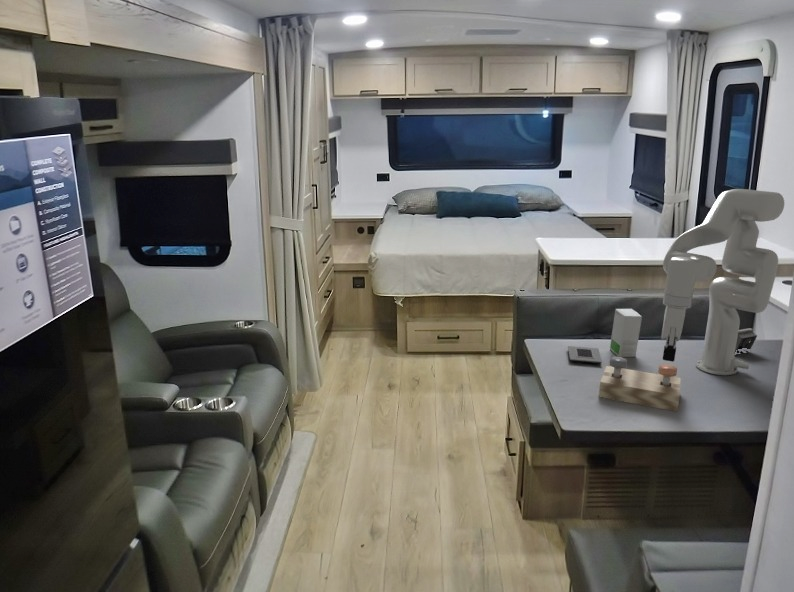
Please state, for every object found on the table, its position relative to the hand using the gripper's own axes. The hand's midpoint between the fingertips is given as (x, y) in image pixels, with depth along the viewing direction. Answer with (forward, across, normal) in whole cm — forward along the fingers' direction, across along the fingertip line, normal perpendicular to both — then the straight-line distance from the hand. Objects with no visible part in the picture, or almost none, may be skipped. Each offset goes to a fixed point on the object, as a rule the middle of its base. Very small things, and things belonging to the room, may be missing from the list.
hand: (668, 359), depth 189 cm
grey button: (+9, -1, -14) cm, 17 cm away
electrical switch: (+12, -55, +23) cm, 61 cm away
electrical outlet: (+13, -25, -27) cm, 39 cm away
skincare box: (+13, -36, -15) cm, 41 cm away
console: (+13, -1, -7) cm, 15 cm away
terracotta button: (+9, -1, 0) cm, 9 cm away
